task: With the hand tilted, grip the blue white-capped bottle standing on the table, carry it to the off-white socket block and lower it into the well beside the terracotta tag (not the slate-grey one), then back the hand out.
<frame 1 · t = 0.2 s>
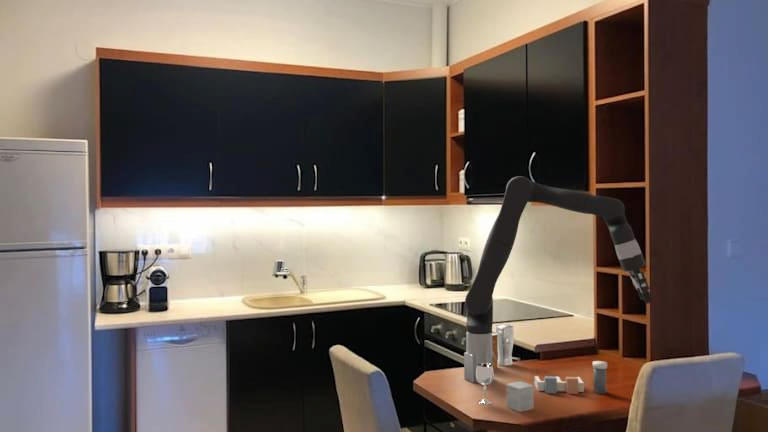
hand: (646, 301, 205), 30 cm above the table, tool tilted 20°, fingers open, 8 cm apart
blue white-capped bottle: (599, 392, 204), on the table
product box: (520, 408, 190), on the table
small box: (484, 368, 236), on the table
wineglass: (485, 402, 196), on the table
socket block: (558, 387, 210), on the table
beer glass: (504, 364, 241), on the table
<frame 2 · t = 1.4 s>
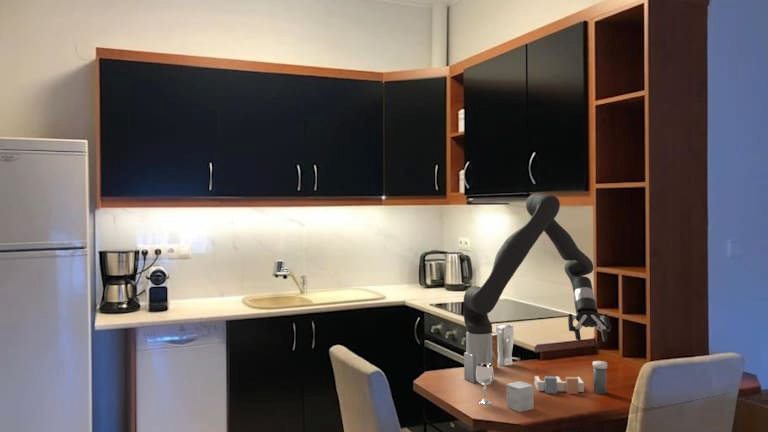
hand: (592, 340, 215), 15 cm above the table, tool tilted 45°, fingers open, 8 cm apart
nothing on the table moved.
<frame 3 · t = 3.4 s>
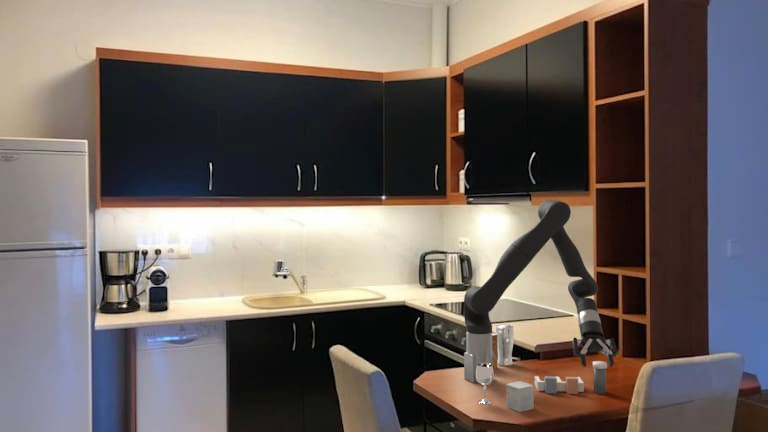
hand: (598, 366, 207), 8 cm above the table, tool tilted 45°, fingers open, 8 cm apart
nothing on the table moved.
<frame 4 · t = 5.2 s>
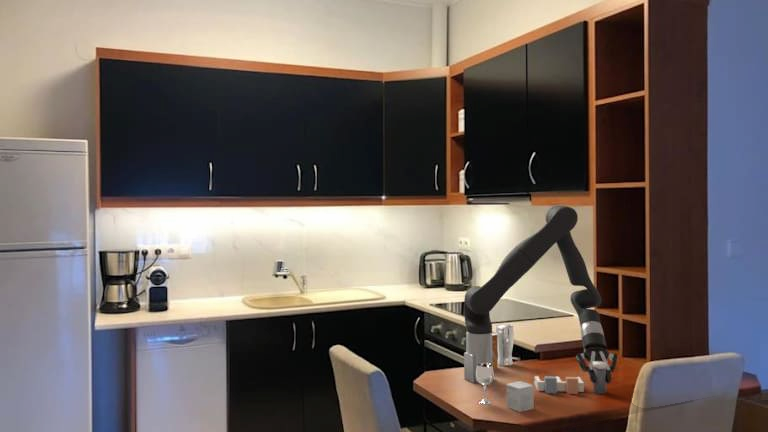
hand: (601, 381, 202), 4 cm above the table, tool tilted 45°, fingers closed on blue white-capped bottle, 4 cm apart
blue white-capped bottle: (599, 392, 204), on the table, touching gripper
everything else where it was.
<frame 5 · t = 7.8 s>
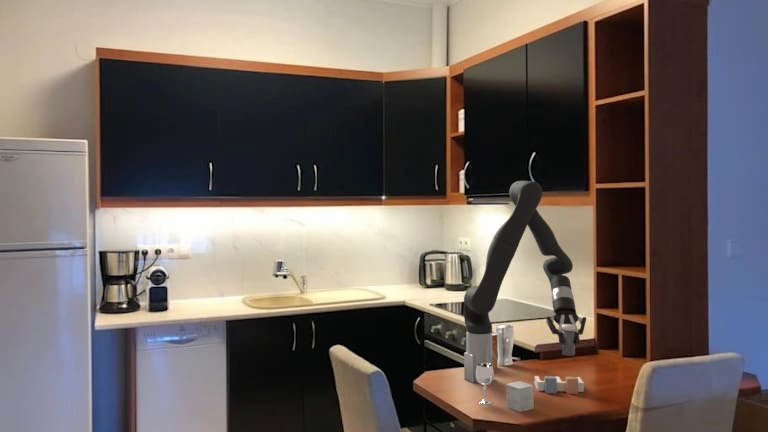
hand: (569, 343, 207), 16 cm above the table, tool tilted 45°, fingers closed on blue white-capped bottle, 4 cm apart
blue white-capped bottle: (568, 354, 209), point 12 cm above the table, touching gripper
everything else where it was.
when the fingers open (5 cm above the table, at t = 10.5 s): blue white-capped bottle drops 1 cm, resting in socket block.
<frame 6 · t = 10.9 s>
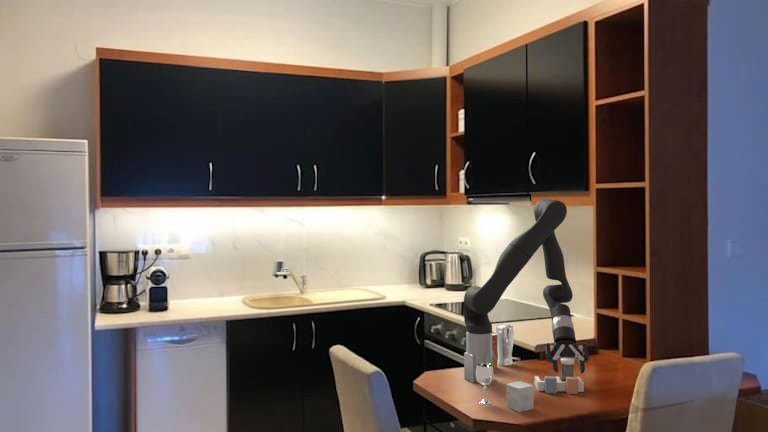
hand: (569, 372, 208), 6 cm above the table, tool tilted 45°, fingers open, 8 cm apart
blue white-capped bottle: (567, 387, 210), resting in socket block
everything else where it was.
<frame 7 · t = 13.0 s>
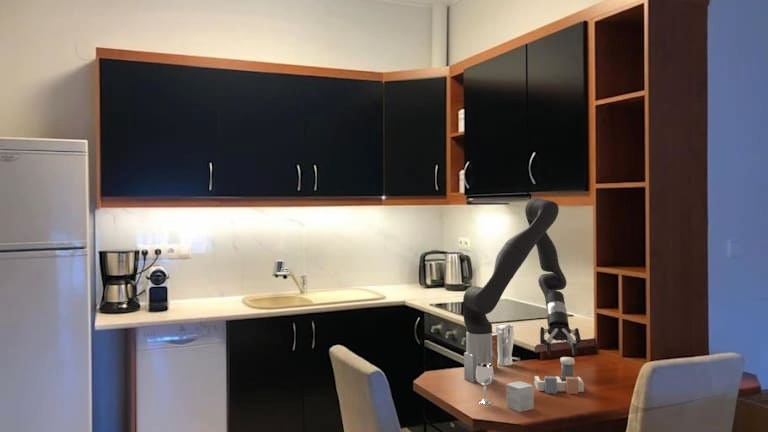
hand: (562, 353, 220), 9 cm above the table, tool tilted 45°, fingers open, 8 cm apart
nothing on the table moved.
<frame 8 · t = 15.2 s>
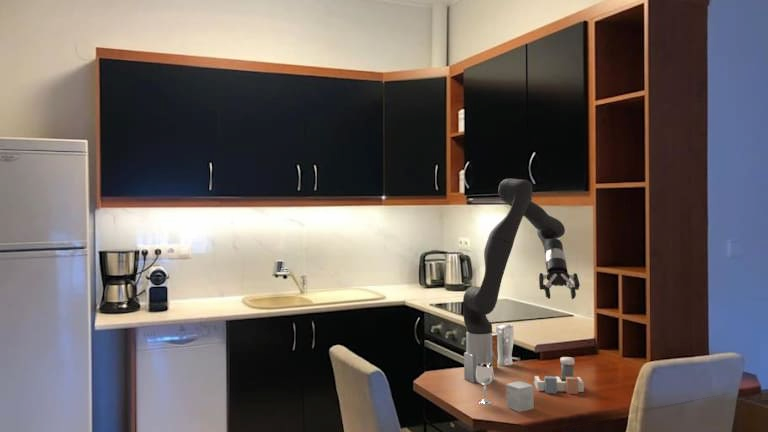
hand: (561, 297, 223), 29 cm above the table, tool tilted 45°, fingers open, 8 cm apart
nothing on the table moved.
at the end: blue white-capped bottle 0.5 cm from the target spot, resting in socket block; blue white-capped bottle tilted 0°; the gripper is holding nothing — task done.
